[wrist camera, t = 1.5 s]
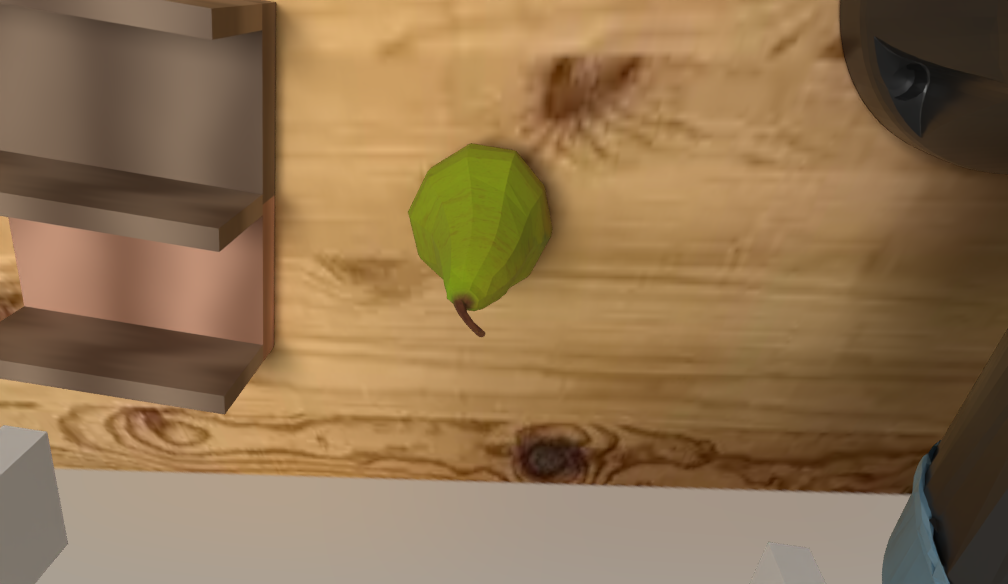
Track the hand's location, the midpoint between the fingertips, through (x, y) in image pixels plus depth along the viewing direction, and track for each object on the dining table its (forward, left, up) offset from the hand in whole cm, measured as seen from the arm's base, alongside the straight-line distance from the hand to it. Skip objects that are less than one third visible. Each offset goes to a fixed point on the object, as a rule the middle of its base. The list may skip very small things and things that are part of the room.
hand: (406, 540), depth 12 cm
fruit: (0, 0, -21) cm, 21 cm away
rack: (+16, +2, -21) cm, 26 cm away
